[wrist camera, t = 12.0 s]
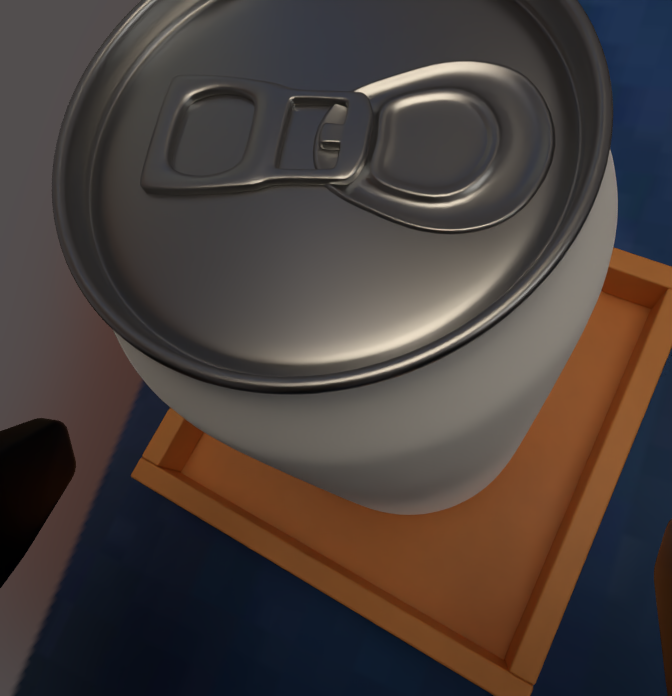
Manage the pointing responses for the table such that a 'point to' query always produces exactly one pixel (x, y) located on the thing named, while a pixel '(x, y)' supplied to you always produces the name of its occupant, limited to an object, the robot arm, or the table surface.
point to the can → (346, 226)
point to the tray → (463, 519)
